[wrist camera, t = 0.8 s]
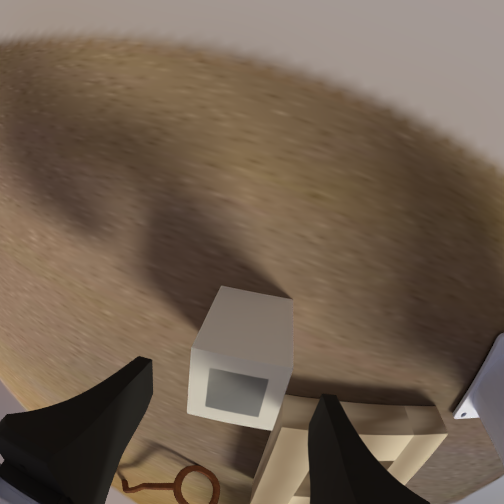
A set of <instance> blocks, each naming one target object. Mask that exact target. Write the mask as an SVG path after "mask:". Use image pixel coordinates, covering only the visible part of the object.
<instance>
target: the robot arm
mask: <svg viewBox="0 0 504 504" xmlns="http://www.w3.org/2000/svg"><path fill="white" fill-rule="evenodd" d="M152 395H153V372H152V360H151V359H148V358H144V357H141V356H138V357H137V358H135V359H134V360H133V361H131V362H130V363H129V364H127V365H126V366H124V367H123V368H122V369H120V370H119V371H118V372H116V373H115V374H113V375H112V376H110V377H109V378H107V379H106V380H104V381H103V382H101V383H99V384H98V385H96V386H94V387H93V388H91V389H89V390H87V391H86V392H84V393H82V394H80V395H78V396H75V397H73V398H71V399H69V400H66V401H64V402H61V403H58V404H55V405H52V406H49V407H46V408H42V409H38V410H33V411H28V412H22V413H14V414H7V415H6V416H5V417H4V418H3V419H2V420H1V421H0V454H1V455H2V457H3V459H4V462H3V463H2V464H0V504H105V501H106V498H107V495H108V492H109V488H110V486H111V483H112V480H113V477H114V475H115V472H116V469H117V467H118V464H119V462H120V459H121V457H122V454H123V452H124V450H125V448H126V446H127V445H128V443H129V441H130V439H131V438H132V436H133V434H134V432H135V430H136V429H137V427H138V425H139V423H140V421H141V420H142V418H143V416H144V414H145V412H146V410H147V408H148V405H149V403H150V400H151V397H152ZM453 417H454V419H464V418H477V417H479V418H480V419H481V421H482V423H483V425H484V427H485V429H486V431H487V433H488V435H489V437H490V439H491V441H492V443H493V445H494V447H495V449H496V451H497V453H498V455H499V457H500V459H501V462H502V464H503V466H504V333H501V334H500V335H499V336H498V337H497V338H496V340H495V342H494V344H493V346H492V348H491V350H490V352H489V354H488V356H487V358H486V360H485V361H484V363H483V365H482V367H481V369H480V370H479V372H478V374H477V376H476V377H475V379H474V381H473V382H472V384H471V386H470V387H469V389H468V391H467V392H466V394H465V395H464V397H463V399H462V400H461V402H460V403H459V405H458V406H457V408H456V409H455V411H454V412H453ZM308 460H309V475H310V504H430V502H428V501H426V500H425V499H423V498H422V497H420V496H418V495H417V494H415V493H414V492H412V491H411V490H410V489H408V488H407V487H406V486H404V485H403V484H402V483H401V482H399V481H398V480H397V479H396V478H395V477H394V476H393V475H392V474H390V473H389V472H388V471H387V470H386V469H385V468H384V467H383V466H382V465H381V463H380V462H379V461H378V460H377V459H376V458H375V457H374V455H373V454H372V453H371V452H370V450H369V449H368V448H367V446H366V445H365V443H364V442H363V441H362V439H361V438H360V436H359V435H358V433H357V431H356V430H355V428H354V426H353V425H352V423H351V421H350V420H349V418H348V416H347V414H346V413H345V411H344V409H343V407H342V405H341V403H340V402H339V400H338V398H337V396H336V395H329V394H322V395H321V397H320V400H319V402H318V404H317V407H316V409H315V411H314V414H313V416H312V418H311V420H310V423H309V428H308Z"/></svg>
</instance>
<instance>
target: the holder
mask: <svg viewBox="0 0 504 504" xmlns="http://www.w3.org/2000/svg"><path fill="white" fill-rule="evenodd" d="M319 400H320V399H314V398H307V397H299V396H292V395H286V394H285V395H284V398H283V401H282V404H281V407H280V410H279V413H278V416H277V419H276V422H275V425H274V428H273V430H272V431H271V433H270V436H269V439H268V441H267V444H266V447H265V450H264V452H263V455H262V458H261V461H260V463H259V466H258V469H257V471H256V474H255V476H254V479H253V485H252V492H251V499H250V504H310V475H309V460H308V428H309V423H310V420H311V418H312V416H313V414H314V411H315V409H316V407H317V404H318V402H319ZM339 402H340V403H341V405H342V407H343V409H344V411H345V413H346V414H347V416H348V418H349V420H350V421H351V423H352V425H353V426H354V428H355V430H356V431H357V433H358V435H359V436H360V438H361V439H362V441H363V442H364V443H365V445H366V446H367V448H368V449H369V450H370V452H371V453H372V454H373V455H374V457H375V458H376V459H377V460H378V461H379V462H380V463H381V465H382V466H383V467H384V468H385V469H386V470H387V471H388V472H389V473H390V474H392V475H393V476H394V477H395V478H396V479H397V480H398V481H399V482H401V483H402V484H403V485H405V484H406V483H407V482H408V481H409V480H410V478H411V477H412V476H413V475H414V474H415V473H416V472H417V471H418V470H419V469H420V467H421V466H422V465H423V464H424V463H425V462H426V461H427V459H428V458H429V457H430V456H431V455H432V453H433V452H434V451H435V450H436V448H437V447H438V446H439V445H440V444H441V442H442V441H443V440H444V438H445V437H446V436H447V434H448V432H447V429H446V427H445V425H444V422H443V420H442V418H441V416H440V413H439V411H438V409H437V407H436V406H400V405H379V404H364V403H352V402H341V401H339Z"/></svg>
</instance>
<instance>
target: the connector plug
mask: <svg viewBox="0 0 504 504" xmlns="http://www.w3.org/2000/svg"><path fill="white" fill-rule="evenodd" d="M292 370H293V299H288V298H282V297H277V296H272V295H267V294H261V293H256V292H251V291H246V290H241V289H236V288H231V287H226V286H221V287H220V289H219V291H218V293H217V295H216V297H215V299H214V301H213V303H212V305H211V307H210V310H209V312H208V314H207V316H206V318H205V320H204V322H203V324H202V326H201V328H200V330H199V333H198V335H197V337H196V339H195V341H194V343H193V345H192V347H191V359H190V373H189V388H188V404H187V413H188V414H192V415H196V416H200V417H204V418H209V419H213V420H218V421H222V422H227V423H232V424H237V425H242V426H247V427H253V428H259V429H265V430H271V431H272V430H273V428H274V425H275V422H276V419H277V416H278V413H279V410H280V407H281V404H282V401H283V398H284V395H285V392H286V389H287V386H288V383H289V380H290V377H291V374H292Z"/></svg>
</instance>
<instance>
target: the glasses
mask: <svg viewBox="0 0 504 504" xmlns="http://www.w3.org/2000/svg"><path fill="white" fill-rule="evenodd" d="M192 471H197V472H200V473H202V474H204V475H205V476H207V477H208V478H209V480H210V481H211V483H212V486H213V495H212V498H211V501H210V502H209V504H217V503H218V499H219V495H220V485H219V482H218V479H217V478H216V476H215V475H214V474H213V473H212V472H211V471H209V470H208V469H206V468H204V467H202V466H197V465H193V466H187V467H185V468H183V469H182V470H181V471H180V472H179V473H178V475H177V476H176V478H175V481H174V483H142V484H140V485H138V486H135V487H131V488H129V487H128V482H127V481H126V480H122V487H123V491H124V492H125V493H135V492H137V491H140V490H143V489H153V490H173V492H174V496H175V498H176V500H177V502H178V503H179V504H189V503H188V502H186V500H185V499H184V498H183V496H182V492H181V485H182V481H183V479H184V477H185V476H186V475H187V474H188V473H190V472H192Z"/></svg>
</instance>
